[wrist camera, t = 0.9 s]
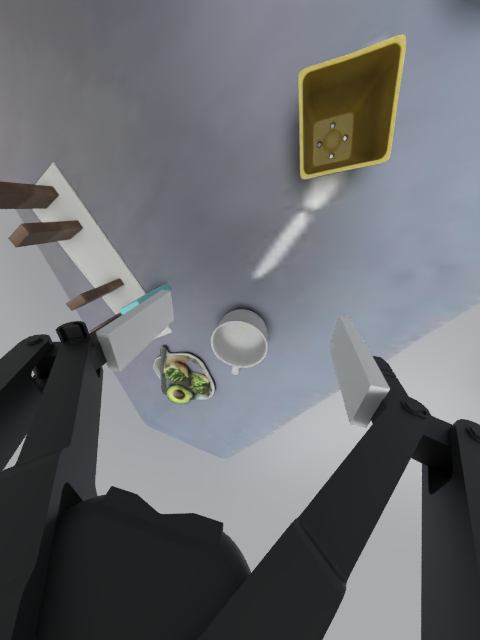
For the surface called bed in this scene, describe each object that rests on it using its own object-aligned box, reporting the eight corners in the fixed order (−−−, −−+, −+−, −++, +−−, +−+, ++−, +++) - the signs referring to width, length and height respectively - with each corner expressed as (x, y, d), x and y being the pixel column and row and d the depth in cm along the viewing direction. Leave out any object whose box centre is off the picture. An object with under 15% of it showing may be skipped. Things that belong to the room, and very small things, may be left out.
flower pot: (297, 187, 30) (300, 180, 23) (295, 109, 27) (297, 69, 19) (363, 174, 28) (390, 161, 20) (371, 86, 24) (409, 30, 17)
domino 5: (124, 309, 49) (89, 331, 41) (138, 302, 47) (104, 323, 39) (128, 315, 50) (95, 337, 41) (142, 308, 48) (110, 330, 39)
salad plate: (141, 346, 55) (130, 356, 51) (198, 339, 50) (190, 350, 46) (170, 396, 63) (162, 408, 59) (222, 395, 58) (217, 408, 54)
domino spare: (151, 290, 45) (118, 310, 37) (167, 282, 43) (136, 300, 35) (155, 296, 46) (124, 317, 37) (171, 288, 44) (142, 308, 35)
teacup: (229, 295, 42) (217, 312, 35) (279, 314, 41) (276, 335, 35) (214, 345, 49) (202, 367, 42) (256, 361, 49) (250, 386, 42)
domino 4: (106, 286, 47) (65, 303, 39) (119, 278, 45) (80, 294, 37) (111, 292, 48) (71, 310, 39) (124, 284, 46) (86, 301, 37)
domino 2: (64, 232, 43) (8, 238, 34) (77, 220, 41) (21, 223, 32) (70, 239, 43) (16, 247, 35) (83, 228, 41) (29, 233, 33)
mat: (25, 198, 41) (23, 198, 41) (55, 162, 36) (53, 162, 36) (140, 343, 54) (139, 344, 54) (173, 331, 50) (172, 331, 49)
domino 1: (40, 200, 40) (-27, 198, 32) (52, 186, 38) (-15, 180, 30) (46, 208, 41) (-18, 208, 32) (59, 195, 39) (-6, 191, 30)
